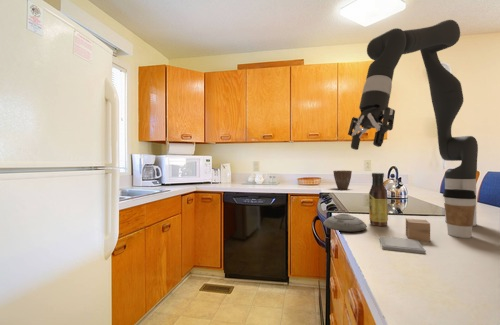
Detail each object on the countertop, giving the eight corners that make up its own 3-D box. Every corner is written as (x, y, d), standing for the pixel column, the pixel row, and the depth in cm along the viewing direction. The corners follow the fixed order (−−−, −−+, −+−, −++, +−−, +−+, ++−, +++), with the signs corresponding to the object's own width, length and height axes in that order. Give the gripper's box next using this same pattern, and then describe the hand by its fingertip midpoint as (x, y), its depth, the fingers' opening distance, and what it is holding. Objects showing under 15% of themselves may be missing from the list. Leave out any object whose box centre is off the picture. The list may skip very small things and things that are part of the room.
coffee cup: (437, 233, 84) (436, 188, 84) (453, 230, 87) (453, 187, 87) (466, 240, 76) (465, 191, 76) (483, 237, 79) (482, 189, 79)
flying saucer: (348, 237, 82) (348, 220, 82) (314, 227, 95) (314, 212, 95) (376, 230, 89) (375, 214, 89) (341, 222, 102) (341, 208, 102)
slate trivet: (379, 238, 79) (379, 235, 79) (417, 242, 75) (417, 239, 75) (382, 249, 70) (382, 245, 70) (425, 253, 66) (425, 250, 66)
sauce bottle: (371, 221, 100) (371, 172, 100) (389, 224, 96) (388, 172, 96) (367, 225, 95) (366, 172, 95) (385, 227, 91) (385, 173, 91)
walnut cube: (405, 235, 83) (405, 218, 83) (425, 236, 80) (425, 219, 80) (408, 239, 78) (408, 222, 77) (430, 241, 75) (430, 223, 75)
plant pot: (353, 190, 205) (353, 171, 205) (334, 190, 209) (334, 171, 209) (350, 188, 220) (350, 170, 220) (332, 188, 223) (332, 170, 223)
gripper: (407, 92, 68) (396, 149, 66) (367, 106, 82) (357, 153, 80) (386, 82, 66) (374, 140, 64) (348, 97, 79) (338, 146, 77)
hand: (365, 147), depth 72 cm, fingers open, 8 cm apart
